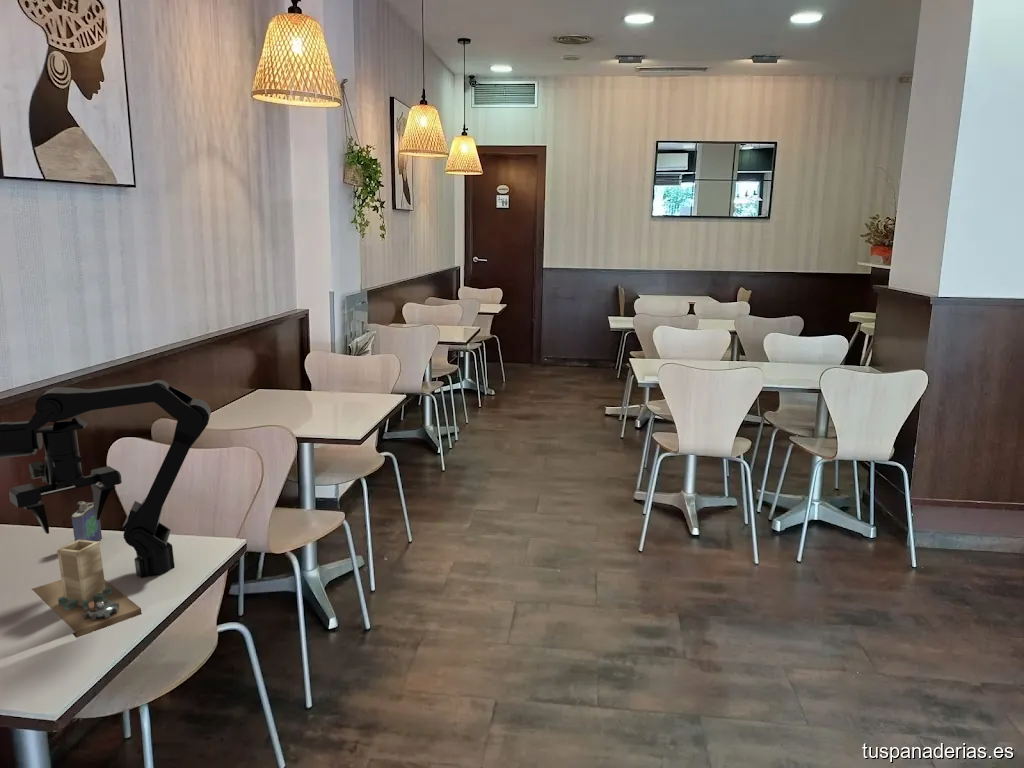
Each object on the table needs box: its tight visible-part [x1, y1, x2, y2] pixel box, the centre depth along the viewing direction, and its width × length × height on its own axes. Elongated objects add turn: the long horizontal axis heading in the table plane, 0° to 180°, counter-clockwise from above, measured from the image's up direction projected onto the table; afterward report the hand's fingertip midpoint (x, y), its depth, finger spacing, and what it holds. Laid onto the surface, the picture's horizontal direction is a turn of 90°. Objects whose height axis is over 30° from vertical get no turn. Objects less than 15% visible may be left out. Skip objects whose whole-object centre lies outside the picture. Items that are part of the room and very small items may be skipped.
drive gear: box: [83, 600, 119, 621], centre depth 141 cm, size 6×6×3 cm
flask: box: [71, 500, 103, 542], centre depth 174 cm, size 9×3×11 cm, turn 2°
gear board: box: [32, 578, 142, 639], centre depth 148 cm, size 11×25×1 cm, turn 47°
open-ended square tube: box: [56, 540, 112, 610], centre depth 146 cm, size 9×9×11 cm
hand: (72, 526), depth 153 cm, fingers open, 9 cm apart
